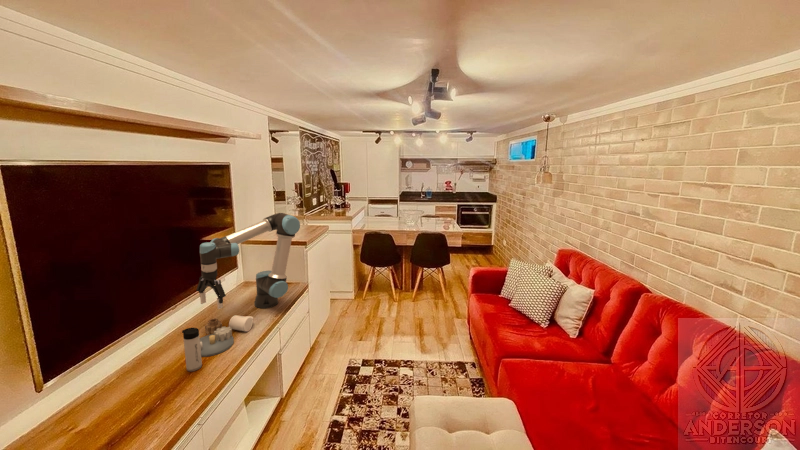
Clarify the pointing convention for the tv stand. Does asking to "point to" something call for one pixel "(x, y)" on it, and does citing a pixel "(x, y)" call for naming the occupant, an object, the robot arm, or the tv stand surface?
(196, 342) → the travel mug
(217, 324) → the oak gear
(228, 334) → the carrier
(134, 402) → the tv stand surface
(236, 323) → the mug
